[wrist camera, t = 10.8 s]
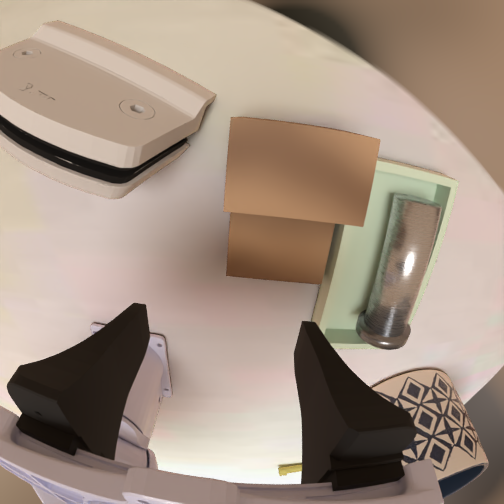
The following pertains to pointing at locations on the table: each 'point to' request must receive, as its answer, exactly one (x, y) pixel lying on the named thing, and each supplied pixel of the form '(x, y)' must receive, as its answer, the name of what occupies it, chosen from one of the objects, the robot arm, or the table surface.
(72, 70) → the white curved plastic device
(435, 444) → the planter
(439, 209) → the pin
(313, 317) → the tray
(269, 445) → the table surface
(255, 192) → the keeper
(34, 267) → the table surface
